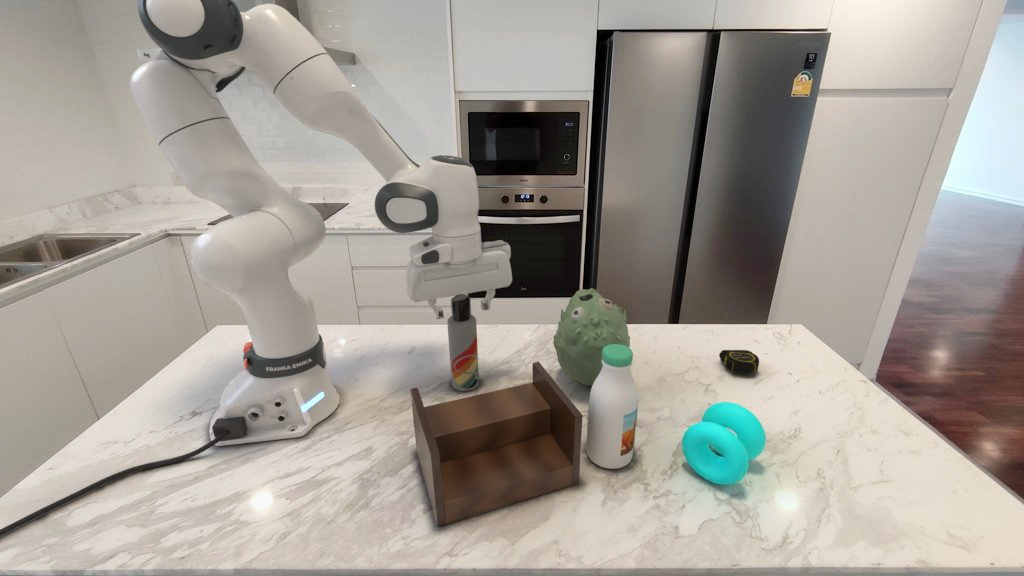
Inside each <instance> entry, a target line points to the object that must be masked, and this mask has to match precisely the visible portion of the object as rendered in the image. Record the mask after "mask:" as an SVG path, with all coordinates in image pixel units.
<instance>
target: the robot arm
mask: <svg viewBox="0 0 1024 576" xmlns="http://www.w3.org/2000/svg"><path fill="white" fill-rule="evenodd" d="M137 13H138V16H139V19H140V22H141V25H142V27H143V28H144V30H145V32H146V33H147V35H148V36H149V37H150V39H151V40H152V42H153V43H154V44H156V46H158V47H159V48H160V49H159V53H158V55H156V57H155V58H154V60H150V61H147V62H144V63H143V64H141V65H140V66H139V67H137V68H136V69H135V70H134V71H133V72H132V74H131V76H130V78H129V89H130V92H131V95H132V97H133V100H134V103H135V105H136V107H137V109H138V111H139V113H140V115H141V118H142V120H143V121H144V123H145V126H146V127H147V129H148V130H149V133H150V134H151V136H152V137H153V139H154V140H155V142H156V144H157V145H158V147H159V148H160V150H161V151H162V153H163V155H164V156H165V157H166V159H167V160H168V162H169V163H170V165H171V167H172V168H173V169H174V171H175V173H176V174H177V176H178V178H179V179H180V180H181V182H182V183H183V185H184V187H185V188H186V189H187V190H188V191H189V192H190V193H191V194H192V195H194V196H196V197H198V198H200V199H203V200H206V201H210V202H212V203H214V204H216V205H217V206H219V207H221V208H222V209H223V210H225V211H226V213H228V214H229V215H230V216H231V217H232V218H229V219H226V220H222V221H219V222H217V223H216V224H214V225H213V226H212V227H210V228H208V229H206V230H205V231H204V232H203V233H201V234H200V235H198V236H197V237H196V238H195V239H194V240H193V241H192V243H191V246H190V250H189V261H190V264H191V267H192V269H193V271H194V273H195V275H196V276H197V278H198V279H199V280H200V281H201V282H202V283H203V284H204V285H206V286H207V287H209V288H210V289H212V290H214V291H216V292H219V293H222V294H225V295H227V296H229V297H230V298H231V299H232V300H233V301H234V302H235V303H236V305H237V306H238V307H239V309H240V311H241V313H242V314H243V317H244V320H245V323H246V326H247V329H248V333H249V336H250V339H251V341H248V342H247V341H246V342H245V344H244V345H243V349H242V352H243V358H242V361H243V368H244V369H243V370H242V371H241V372H240V373H238V374H237V375H236V376H235V377H234V378H233V379H231V380H230V381H229V383H227V385H226V386H225V388H224V389H223V392H222V395H221V396H220V397H221V398H220V402H219V406H218V408H217V409H216V410H215V412H214V413H213V415H212V418H211V421H210V423H209V431H208V433H209V438H210V441H209V442H208V443H206V444H204V445H202V446H201V447H199V448H197V449H195V450H193V451H190V452H187V453H184V454H182V455H179V456H176V457H172V458H168V459H163V460H158V461H153V462H148V463H143V464H140V465H139V464H138V465H136V466H132V467H130V468H127V469H124V470H121V471H118V472H116V473H114V474H110V475H109V476H106V477H104V478H102V479H99V480H97V481H96V482H94V483H92V484H89V485H87V486H85V487H83V488H82V489H79V490H77V491H75V492H73V493H71V494H69V495H67V496H65V497H63V498H61V499H59V500H56V501H54V502H52V503H50V504H48V505H46V506H44V507H42V508H40V509H37V510H36V511H34V512H32V513H30V514H28V515H26V516H23V517H22V518H20V519H18V520H16V521H14V522H12V523H10V524H8V525H6V526H4V527H1V528H0V537H1V536H3V535H5V534H7V533H9V532H11V531H13V530H15V529H17V528H19V527H21V526H23V525H25V524H28V522H31V521H33V520H35V519H36V518H37V519H38V517H40V516H42V515H44V514H47V513H49V512H51V511H52V510H55V509H57V508H59V507H61V506H62V505H65V504H67V503H69V502H71V501H73V500H75V499H77V498H79V497H81V496H84V495H86V494H87V493H89V492H92V491H94V490H95V489H97V488H100V487H102V486H104V485H106V484H108V483H110V482H112V481H114V480H117V479H120V478H122V477H125V476H128V475H129V474H133V473H136V472H140V471H145V470H148V469H153V468H158V467H162V466H163V467H164V466H168V465H172V464H176V463H179V462H183V461H186V460H188V459H191V458H193V457H196V456H198V455H200V454H201V453H203V452H205V451H207V450H208V449H210V448H212V447H213V446H216V447H223V446H232V445H242V444H251V443H259V442H268V441H275V440H276V441H277V440H278V441H279V440H285V439H295V438H301V437H303V436H305V435H307V434H308V433H309V432H310V431H311V430H312V429H313V427H314V426H315V425H317V424H319V423H321V422H322V421H324V420H325V419H327V418H328V417H329V416H330V415H332V414H334V412H335V411H336V409H337V408H338V406H339V404H340V401H341V396H340V394H339V392H338V391H337V389H336V387H335V385H334V383H333V381H332V379H331V376H330V374H329V373H330V372H329V371H328V368H327V359H328V358H327V353H326V348H325V343H324V342H323V337H322V335H321V333H320V332H319V329H318V327H319V326H318V322H317V318H316V317H317V316H316V312H315V306H314V302H313V299H312V298H311V297H310V296H309V295H307V294H306V293H304V292H303V291H300V290H297V289H295V288H294V286H293V284H292V283H291V281H290V278H289V269H290V268H292V267H293V266H295V265H297V264H299V263H301V262H302V261H305V260H306V259H308V258H309V257H311V256H312V255H313V254H314V252H316V250H318V248H319V247H320V246H321V245H322V244H323V242H324V240H325V238H326V234H327V233H326V232H327V230H326V224H325V221H324V218H323V216H322V214H321V213H320V212H319V211H318V210H317V209H316V208H315V207H314V206H313V205H311V204H309V203H307V202H305V201H302V200H300V199H298V198H296V197H295V196H293V195H292V194H290V193H289V192H288V191H287V190H285V188H283V186H281V185H280V184H279V183H278V182H277V181H276V180H275V179H274V178H273V177H272V176H271V175H270V174H269V173H268V172H267V171H266V170H265V169H264V168H263V166H262V165H261V164H260V163H259V161H258V160H257V159H256V157H255V155H254V153H252V151H251V149H250V148H249V146H248V145H247V143H246V141H245V139H244V138H243V136H242V135H241V134H240V132H239V130H238V129H237V127H236V125H235V123H234V122H233V121H232V118H231V117H230V115H229V114H228V112H227V111H226V109H225V108H224V106H223V104H222V103H221V101H220V99H219V96H218V94H217V93H220V92H222V91H223V90H225V88H227V86H229V85H230V84H231V83H232V82H234V81H235V80H237V79H238V78H239V77H241V75H243V74H244V73H245V71H246V69H248V70H250V71H251V72H253V73H254V74H255V75H256V76H258V77H259V78H260V80H261V81H262V82H263V83H264V84H265V85H266V86H267V88H268V90H270V92H271V93H272V94H273V95H274V96H275V98H276V99H277V101H278V102H280V104H281V105H282V106H283V107H284V108H285V109H286V110H287V112H289V113H290V114H291V115H292V116H293V117H294V118H295V119H297V120H298V122H300V123H301V124H303V126H305V127H306V128H308V129H310V130H313V131H316V132H319V133H324V134H326V135H327V134H328V135H331V136H334V137H337V138H339V139H342V140H343V141H345V142H346V143H349V144H350V145H352V146H353V147H354V148H356V150H358V152H359V153H361V154H362V156H363V157H364V158H365V159H366V161H368V163H370V164H371V166H372V167H373V168H374V169H375V171H377V172H378V173H379V174H380V177H382V178H383V179H384V181H385V182H386V183H385V184H384V185H382V186H381V188H380V189H379V190H378V191H377V193H376V196H375V197H374V211H375V214H376V217H377V219H378V220H379V221H380V223H381V224H382V226H384V227H385V228H386V229H388V230H389V231H391V232H394V233H398V234H408V233H409V234H410V233H414V232H415V233H416V232H421V231H423V230H427V229H431V232H432V235H431V236H429V237H427V238H425V239H423V240H420V241H419V242H416V243H414V244H412V245H410V247H409V249H408V252H409V257H410V260H409V261H408V264H407V267H406V276H405V278H406V279H405V281H406V282H405V283H406V293H407V296H408V298H409V299H410V300H411V301H412V302H413V303H420V302H427V303H428V305H429V306H430V308H431V309H432V310H433V314H434V315H433V316H434V318H435V320H441V319H444V318H445V315H444V309H443V308H442V306H439V307H437V306H436V304H437V299H444V298H451V297H454V296H456V295H462V294H465V295H468V294H473V293H478V292H484V291H485V292H486V295H485V297H484V298H483V299H480V308H481V310H482V312H485V311H490V310H491V302H492V300H493V299H494V297H495V295H496V289H502V288H508V287H510V286H511V284H512V283H513V274H512V273H513V272H512V265H511V262H510V259H511V257H512V251H511V249H512V248H511V245H510V244H509V242H506V241H504V240H503V239H499V240H494V241H482V228H481V224H480V222H479V210H480V194H479V185H478V178H477V173H476V170H475V168H474V166H473V165H472V163H470V161H468V160H467V159H465V158H462V157H459V156H454V155H441V154H440V155H439V154H438V155H434V156H431V157H430V158H429V159H428V160H427V161H426V162H424V163H423V164H422V165H420V164H418V163H416V162H415V161H414V160H413V159H411V157H410V156H409V155H408V154H407V153H406V152H405V151H404V149H403V148H402V147H401V146H400V145H399V144H398V143H397V141H396V140H395V139H394V138H393V137H392V136H391V134H389V132H388V131H387V130H386V128H384V126H383V125H382V124H381V123H380V121H378V120H377V118H376V117H375V116H374V115H373V113H372V112H371V111H370V109H369V108H368V107H367V105H366V104H365V103H364V101H363V100H362V98H361V97H360V96H359V94H358V93H357V92H356V90H355V88H354V87H353V86H352V84H351V83H350V81H349V80H348V78H347V77H346V76H345V75H344V73H343V72H342V70H341V69H340V68H339V66H338V65H337V63H336V62H335V61H334V59H333V58H332V57H331V56H330V54H329V53H328V52H327V50H326V49H325V48H324V47H323V46H322V44H320V42H319V41H318V40H317V39H316V37H315V36H314V35H313V34H312V33H311V32H310V31H309V30H308V28H307V27H305V26H304V25H303V24H302V23H301V22H300V21H299V20H298V19H297V18H296V17H295V16H294V15H292V14H291V13H290V12H289V11H288V10H287V9H286V8H284V7H282V6H280V5H278V4H275V3H261V4H259V5H256V6H254V7H251V8H250V9H248V10H247V11H240V9H239V7H238V5H237V3H236V2H235V1H234V0H137Z"/></svg>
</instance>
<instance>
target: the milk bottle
mask: <svg viewBox="0 0 1024 576" xmlns="http://www.w3.org/2000/svg"><path fill="white" fill-rule="evenodd" d="M633 359H634V353H633V350H632V349H631V348H630V347H629V348H628V347H627V346H624V345H620V344H611V345H607V346H605V347H604V348H603V351H602V364H603V367H602V369H601V371H600V373H599V375H598V377H597V378H596V380H595V381H594V383H593V385H591V389H590V392H589V401H588V409H587V410H588V411H587V426H586V443H585V445H586V446H585V451H586V455H587V456H588V458H589V459H590V461H591V462H592V463H594V464H595V465H596V466H599V467H600V468H604V469H609V470H614V469H615V470H616V469H622V468H624V467H626V466H627V465H628V464H630V462H631V461H632V460H633V455H634V446H635V439H636V430H637V429H636V427H637V418H638V409H639V408H638V405H639V404H638V403H639V394H638V390H637V386H636V383H635V381H634V378H633V376H632V372H631V367H632V366H633Z"/></svg>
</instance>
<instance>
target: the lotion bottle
mask: <svg viewBox="0 0 1024 576" xmlns="http://www.w3.org/2000/svg"><path fill="white" fill-rule="evenodd" d="M450 308H451V316H449V317H448V318H447V337H448V349H449V350H448V351H449V353H448V354H449V365H450V379H451V381H450V382H451V385H452V388H453V389H454V390H456V391H458V392H459V391H460V392H469V391H472V390H474V389H476V388H477V387H478V386H479V382H480V381H479V380H480V377H479V374H480V373H479V353H478V351H479V350H478V330H477V319H476V316H474V315H473V314H472V306H471V297H470V296H469V295H468V294H462V295H456V296H452V297H451V299H450Z"/></svg>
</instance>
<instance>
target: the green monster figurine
mask: <svg viewBox="0 0 1024 576" xmlns="http://www.w3.org/2000/svg"><path fill="white" fill-rule="evenodd" d="M611 344H620V345H624V346H627V347H628V348H630V347H631V337H630V334H629V328H628V324H627V312H626V309H622V307H621V306H618V305H617V303H614V304H613V302H612V301H611V300H610V299H608V298H604V297H603V296H602V294H601V293H599V292H597V290H596V289H595V288H589V289H584V288H581V289H578V290H577V291H576V292H575V294H574V295H573V296H571V297H570V299H569V301H568V304H567V305H566V308H565V310H564V309H563V308H561V310H560V320H559V321H558V323H557V330H556V332H555V334H554V335H553V347H554V349H555V351H556V356H557V362H558V364H559V367H560V369H561V370H562V371H563V373H564V374H566V375H567V377H568V378H570V379H572V380H573V381H575V382H577V383H579V384H582V385H584V386H592V385H593V383H594V381H595V380H596V378H597V377H598V375H599V373H600V371H601V369H602V367H603V364H602V351H603V348H604V347H605V346H607V345H611Z"/></svg>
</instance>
